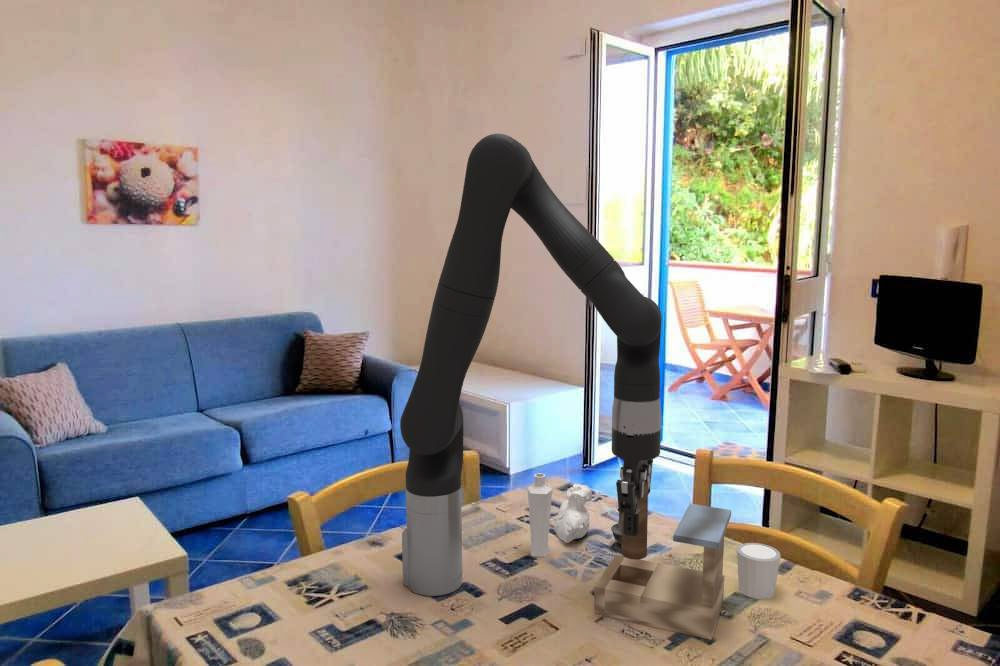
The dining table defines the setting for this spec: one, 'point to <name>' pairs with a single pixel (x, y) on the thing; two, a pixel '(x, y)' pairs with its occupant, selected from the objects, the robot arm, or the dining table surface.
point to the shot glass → (757, 570)
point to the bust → (573, 514)
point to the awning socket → (671, 581)
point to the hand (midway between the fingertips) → (634, 528)
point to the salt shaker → (617, 534)
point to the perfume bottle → (539, 516)
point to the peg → (638, 544)
